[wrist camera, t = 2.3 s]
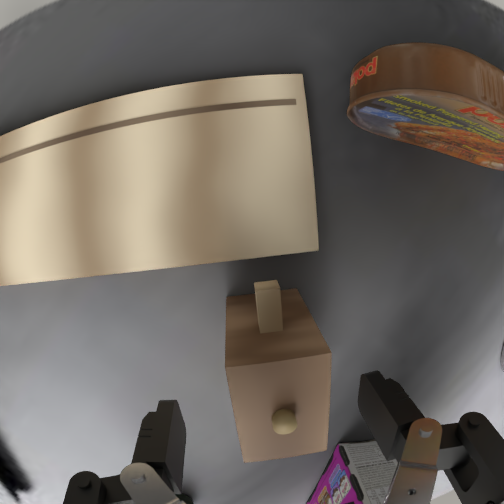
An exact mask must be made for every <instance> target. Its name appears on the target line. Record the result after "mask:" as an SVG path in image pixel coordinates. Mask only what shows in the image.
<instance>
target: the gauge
mask: <svg viewBox="0 0 504 504" xmlns="http://www.w3.org/2000/svg"><path fill="white" fill-rule="evenodd" d="M254 287H255V294H247V295H238V296H229V297H227V299H226V344H225V370H226V375H227V380H228V386H229V391H230V396H231V401H232V407H233V412H234V417H235V422H236V427H237V432H238V436H239V441H240V446H241V451H242V455H243V460H244V463H247V462H256V461H265V460H273V459H280V458H287V457H294V456H300V455H305V454H311V453H316V452H321V451H326V450H327V440H328V425H329V409H330V387H331V351H330V349H329V347H328V345H327V343H326V341H325V340H324V338H323V336H322V334H321V332H320V330H319V328H318V327H317V325H316V323H315V321H314V319H313V317H312V316H311V314H310V312H309V310H308V308H307V306H306V305H305V303H304V301H303V299H302V297H301V295H300V294H299V292H298V290H297V288H295V289H287V290H280V287H279V284H278V282H277V280H271V281H263V282H255V283H254Z"/></svg>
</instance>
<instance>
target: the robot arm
mask: <svg viewBox="0 0 504 504" xmlns="http://www.w3.org/2000/svg"><path fill="white" fill-rule="evenodd" d="M501 366H502V369H503V371H504V346H503V351H502V355H501ZM358 406H359V410H360V412H361V414H362V416H363V418H364V420H365V421H366V423H367V425H368V427H369V429H370V431H371V433H372V434H373V436H374V438H375V440H376V442H377V444H378V446H379V447H380V449H381V451H382V453H383V455H384V457H385V459H386V460H387V462H388V461H391V460H394V459H396V460H397V462H398V464H397V467H396V470H395V473H394V476H393V478H392V481H391V484H390V487H389V489H388V492H387V495H386V497H385V500H384V502H383V504H430V501H431V497H432V493H433V489H434V485H435V481H436V476H437V472H438V470H444V472H445V474H446V475H447V477H448V479H449V481H450V483H451V484H452V486H453V488H454V490H455V492H456V493H457V495H458V497H459V499H460V501H461V503H462V504H504V439H503V438H502V437H501V435H500V434H499V433H498V432H497V430H496V429H495V428H494V427H493V425H492V424H491V423H490V422H489V420H488V419H487V418H486V417H485V416H484V415H483V414H481V413H478V412H468V413H466V414H464V415H463V416H462V417H461V418H460V421H459V423H453V424H445V425H440V423H439V422H437V421H436V420H434V419H431V418H425V417H424V416H423V414H422V413H421V412H420V410H419V409H418V408H417V406H416V405H415V404H414V402H413V401H412V400H411V399H410V398H409V396H408V395H407V393H406V392H405V391H404V389H403V388H402V387H401V385H400V384H399V383H397V382H396V381H394V380H392V379H391V378H389V379H386V380H385V378H384V377H383V376H382V374H381V373H380V372H379V371H373V372H369V373H365V374H362V375H361V379H360V387H359V396H358ZM138 436H139V437H138V439H137V443H136V447H135V451H134V455H133V459H132V463H131V464H130V465H128V466H126V467H125V468H124V469H123V470H122V472H121V474H119V475H116V476H111V477H105V478H99V477H98V476H97V475H96V474H95V473H93V472H89V471H82V472H79V473H77V474H75V475H74V476H73V477H72V478H71V479H70V481H69V485H68V488H67V491H66V495H65V499H64V502H63V504H186V503H185V502H184V501H182V500H179V499H178V497H177V496H176V495H175V494H181V491H182V478H183V466H184V455H185V444H186V427H185V423H184V420H183V417H182V414H181V411H180V407H179V404H178V402H177V400H160V401H159V403H158V407H157V411H156V412H149V413H148V414H147V415H146V416H145V417H144V419H143V420H142V424H141V427H140V431H139V435H138ZM345 504H355V503H354V501H352V502H349V503H345Z"/></svg>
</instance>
